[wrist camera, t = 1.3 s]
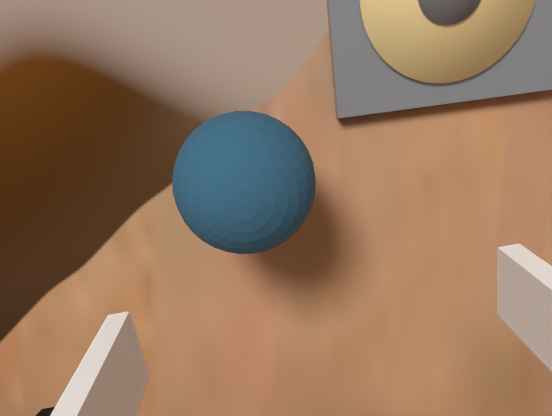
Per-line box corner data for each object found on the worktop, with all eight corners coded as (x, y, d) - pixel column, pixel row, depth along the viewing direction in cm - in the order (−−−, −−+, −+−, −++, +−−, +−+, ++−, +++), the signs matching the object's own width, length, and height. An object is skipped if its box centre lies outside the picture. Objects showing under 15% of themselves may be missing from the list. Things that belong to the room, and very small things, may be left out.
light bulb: (175, 118, 32) (131, 151, 21) (284, 83, 32) (300, 98, 20) (213, 219, 35) (193, 298, 23) (314, 189, 34) (343, 254, 23)
